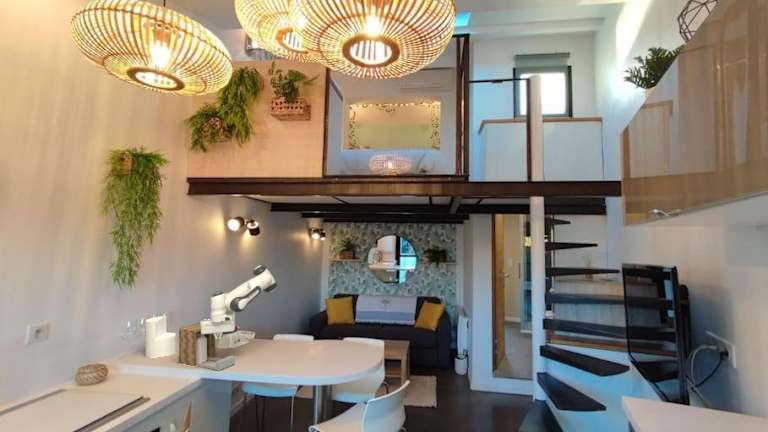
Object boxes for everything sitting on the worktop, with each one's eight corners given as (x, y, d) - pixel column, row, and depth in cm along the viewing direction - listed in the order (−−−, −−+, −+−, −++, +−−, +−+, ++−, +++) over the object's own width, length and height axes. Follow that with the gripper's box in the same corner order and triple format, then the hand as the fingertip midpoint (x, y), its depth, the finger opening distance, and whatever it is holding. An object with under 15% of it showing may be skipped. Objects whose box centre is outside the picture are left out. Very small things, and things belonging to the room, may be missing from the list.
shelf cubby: (179, 364, 246) (179, 328, 246) (200, 356, 261) (200, 322, 261) (194, 367, 240) (194, 330, 240) (215, 359, 255) (215, 324, 255)
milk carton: (199, 364, 246) (199, 335, 246) (190, 363, 247) (190, 334, 247) (207, 360, 252) (206, 332, 253) (197, 359, 254) (197, 331, 254)
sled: (184, 363, 247) (184, 355, 247) (200, 357, 258) (200, 350, 258) (219, 370, 233) (219, 362, 233) (234, 363, 244) (234, 356, 244)
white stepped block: (139, 359, 258) (139, 322, 258) (154, 350, 276) (154, 316, 277) (168, 358, 259) (167, 321, 259) (180, 349, 278) (180, 315, 278)
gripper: (199, 320, 236) (199, 342, 236) (234, 317, 243) (234, 338, 243) (201, 318, 242) (201, 339, 242) (234, 315, 249) (235, 336, 249)
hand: (218, 339), depth 243 cm, fingers closed
